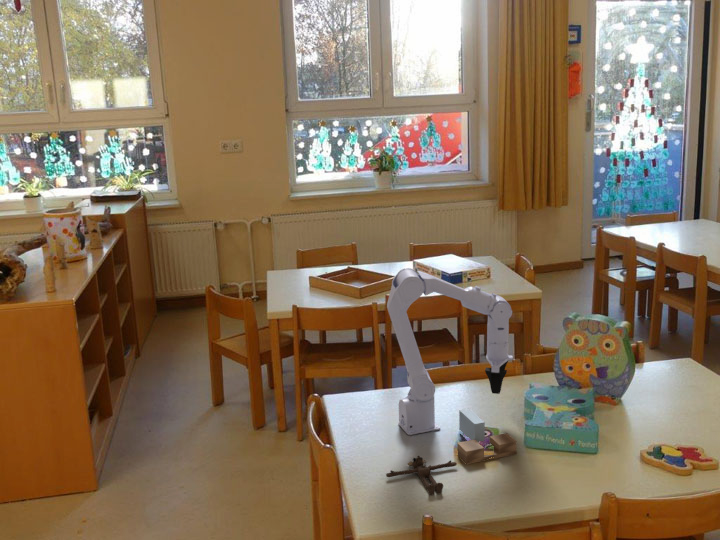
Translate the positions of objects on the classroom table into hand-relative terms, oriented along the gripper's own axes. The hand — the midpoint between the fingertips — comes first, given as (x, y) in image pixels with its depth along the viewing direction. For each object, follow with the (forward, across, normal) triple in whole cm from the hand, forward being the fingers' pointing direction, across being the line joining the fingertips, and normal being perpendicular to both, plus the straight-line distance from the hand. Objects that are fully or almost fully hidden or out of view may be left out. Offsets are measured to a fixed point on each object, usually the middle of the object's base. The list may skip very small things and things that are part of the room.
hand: (497, 387), depth 207 cm
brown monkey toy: (+11, -34, +14) cm, 39 cm away
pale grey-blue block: (+10, -13, +5) cm, 17 cm away
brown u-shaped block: (+10, -20, +1) cm, 22 cm away
